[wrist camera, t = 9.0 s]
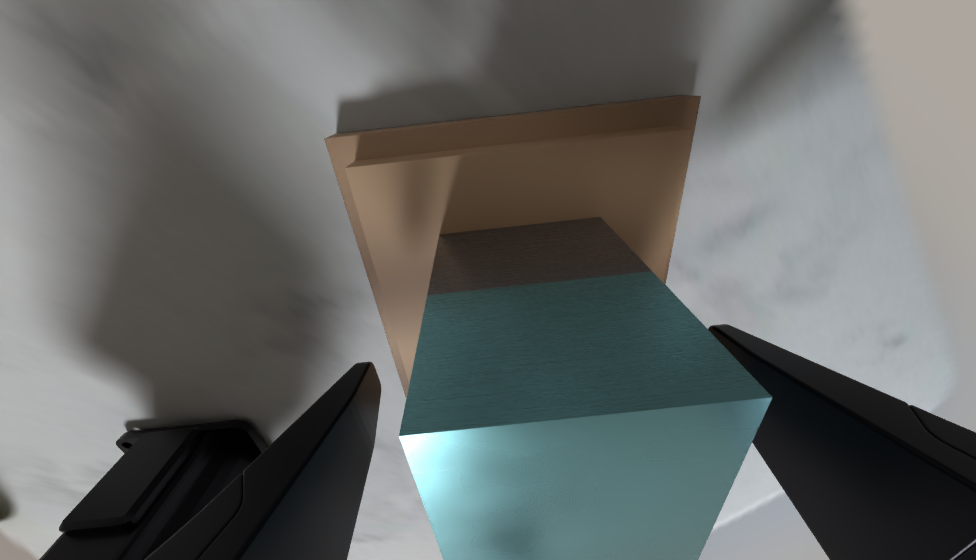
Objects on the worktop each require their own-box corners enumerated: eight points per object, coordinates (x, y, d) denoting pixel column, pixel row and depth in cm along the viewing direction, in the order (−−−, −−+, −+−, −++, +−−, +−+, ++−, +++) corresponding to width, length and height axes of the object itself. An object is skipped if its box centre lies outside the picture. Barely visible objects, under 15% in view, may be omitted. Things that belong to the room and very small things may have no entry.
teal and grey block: (600, 216, 11) (773, 396, 5) (591, 341, 13) (695, 565, 7) (439, 234, 11) (399, 436, 5) (461, 355, 13) (454, 588, 7)
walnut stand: (639, 356, 16) (659, 389, 15) (409, 380, 16) (402, 416, 15) (682, 95, 11) (722, 97, 9) (335, 134, 11) (310, 144, 9)
